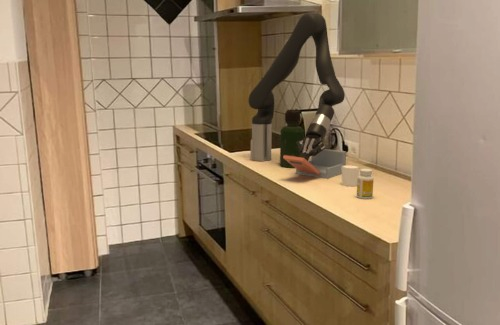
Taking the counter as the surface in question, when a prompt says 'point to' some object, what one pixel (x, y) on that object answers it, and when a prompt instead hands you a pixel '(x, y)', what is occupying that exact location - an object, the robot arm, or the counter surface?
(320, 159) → the tray
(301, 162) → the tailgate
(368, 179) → the supplement bottle
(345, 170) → the tan cylinder
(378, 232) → the counter surface
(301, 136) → the green water bottle
